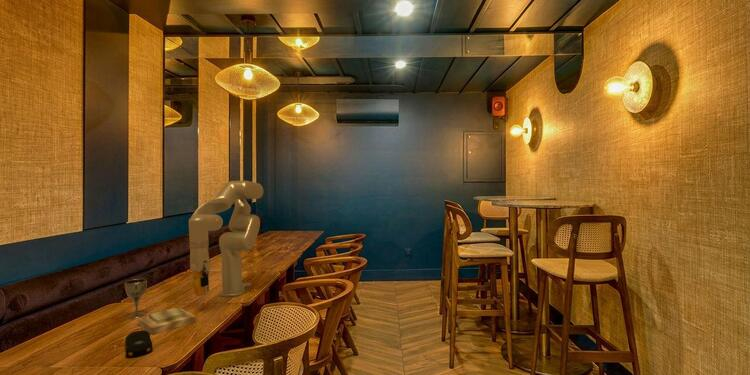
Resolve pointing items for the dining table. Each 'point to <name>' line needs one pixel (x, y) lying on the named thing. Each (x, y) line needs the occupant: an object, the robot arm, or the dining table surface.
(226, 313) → the dining table surface
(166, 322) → the riser
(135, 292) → the wine glass
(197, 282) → the glass of juice
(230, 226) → the robot arm
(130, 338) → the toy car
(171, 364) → the dining table surface
